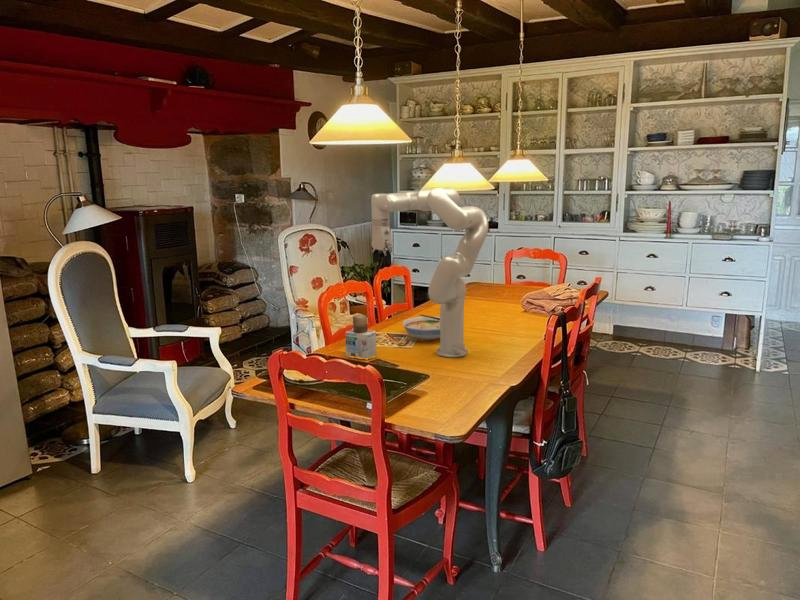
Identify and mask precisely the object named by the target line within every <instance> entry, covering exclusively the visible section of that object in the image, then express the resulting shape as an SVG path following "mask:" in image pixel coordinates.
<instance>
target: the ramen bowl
mask: <svg viewBox="0 0 800 600" xmlns="http://www.w3.org/2000/svg"><path fill="white" fill-rule="evenodd" d="M401 323H402V326H403V327H404V329H405V330H406V332H407V333H408V334H409V335H411V336H412V337H414V338H417V339H419V338H420V339H419V340H421V339H423V340H422V341H434V339H435V340H436V338H437V339H440V316H429V315H425V314H420V316H416V317H410V318H408V319H404V320H403V321H402V322H401Z"/></svg>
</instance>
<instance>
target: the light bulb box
mask: <svg viewBox="0 0 800 600" xmlns="http://www.w3.org/2000/svg"><path fill="white" fill-rule="evenodd" d="M376 331H377V330H370V329H367V332H365V333H354V332H353V328H352V329H349V330H347V331H345V333H344V334H345V356H346V355H347V356H354V357H361V358H370V357H372V356H375V355H376V356H377V332H376Z"/></svg>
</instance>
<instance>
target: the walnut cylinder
mask: <svg viewBox="0 0 800 600" xmlns="http://www.w3.org/2000/svg"><path fill="white" fill-rule="evenodd" d="M352 329H353V332H354V333H365V332H367V330H368V316H367V315H365V314H355V315H353V316H352Z"/></svg>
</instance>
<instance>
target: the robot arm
mask: <svg viewBox="0 0 800 600" xmlns="http://www.w3.org/2000/svg"><path fill="white" fill-rule="evenodd" d="M460 199H461V198H460V194H459V192H458V191H457V190H456V188H454V187H449V186H447V187H446V186H445V187H435V188H424V189H420V190H419V191H409V192H393V193H374V194H372V195H371V197H370V202H371V204H370V205H371V228H372V229H371V231H372V232H371V233H372V234H371V242H370V246H371V253H372V262H373V263H379V262H380V261H381V255H380V254H381V253H380V251H381V252H383V254H384V255H383V265H384V266H388V265H389V266H390V265H391V264H392V252H393V241H392V240H393V239H392V231H391V226H390V225H391V224H390V223H391V221H390V213H393V212H394V213H396V212H403V211H405V212H406V211H415V210H420V211H422V212H428V211H432V212H433V214H435V215H436V216H437V217H438V218H439V219H440V220H441V221H442V222H443V223H444V224H445V225H446V227H449V228H450V229H452V231H453V230H454V231H457V232H458V231H465V230H466V231H465V233H464V234H463V235H462V237H461V239H460V240H459V242H458V244H457V248H456V250H455V251H454V252H453V253H451V254H448V255H446V256H444V257H442V258H441V259H440V261H439V262H438V264H437V266H436V268H435V269H434V273H433V275H432V278H431V280H430V283H429V286H428V290H427V292H428V297H429V299H430V301H432V303H434V304H436V305H440V308H439V317H440V337H439V347H438V348H437V349H436V351H435V353H436V354H437V356H439V357H444V358H461V357H464V356H466V355H467V354H468V350H469V349H467V348H465V347H466V345H465V343H464V342H465V340H464V339H465V338H464V337H465V336H464V333H465V331H464V330H465V329H464V327H465V326H464V324H465V321H464V320H465V319H464V318H465V316H464V315H465V309H464V308H465V301H466V300H465V299H466V294H467V286H466V283H465V280H464V279H463V278H464V277H467V276H468V275H470V274H471V272H472V270H473V269H474V268H473V267H474V266H475V263H476V261H477V259H478V256H479V254H480V252H481V250H482V247H483V245H484V243H485V240H486V238H487V236H488V232H489V220H488V217H487V215H486V213H485V212H484V210H483V209H481V208H480V207H477V206H472V205H471V206H469V205H468V206H461V207H460V206H458V204H459V203H460Z"/></svg>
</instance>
